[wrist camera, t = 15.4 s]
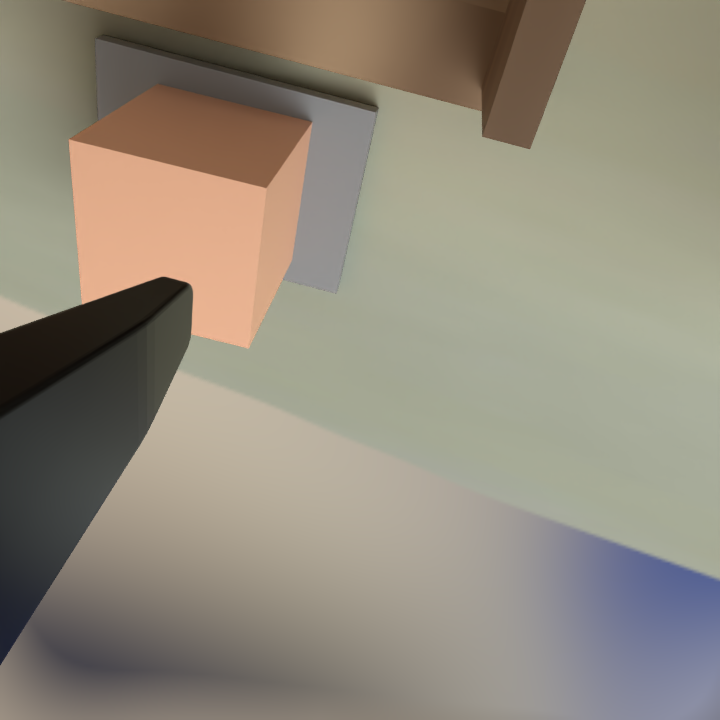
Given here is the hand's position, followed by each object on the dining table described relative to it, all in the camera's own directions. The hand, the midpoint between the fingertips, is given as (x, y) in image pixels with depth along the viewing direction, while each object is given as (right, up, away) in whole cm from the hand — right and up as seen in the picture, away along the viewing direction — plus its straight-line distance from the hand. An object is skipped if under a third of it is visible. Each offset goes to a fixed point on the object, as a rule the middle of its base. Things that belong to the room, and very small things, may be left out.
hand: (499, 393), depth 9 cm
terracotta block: (-6, +6, +11) cm, 14 cm away
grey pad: (-6, +6, +11) cm, 14 cm away
